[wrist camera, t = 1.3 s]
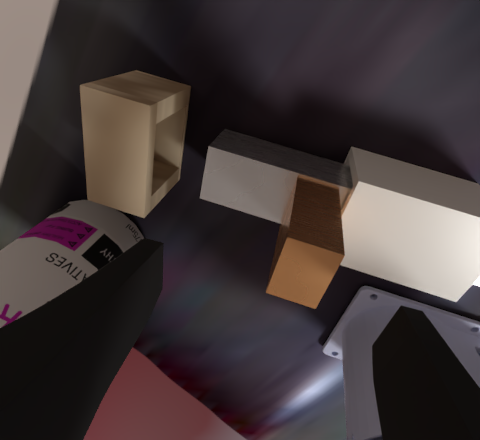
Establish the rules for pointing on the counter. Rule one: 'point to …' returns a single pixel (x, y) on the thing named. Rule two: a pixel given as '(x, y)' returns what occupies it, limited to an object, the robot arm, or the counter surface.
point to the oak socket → (133, 139)
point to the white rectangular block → (411, 225)
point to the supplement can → (60, 255)
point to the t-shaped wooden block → (285, 207)
